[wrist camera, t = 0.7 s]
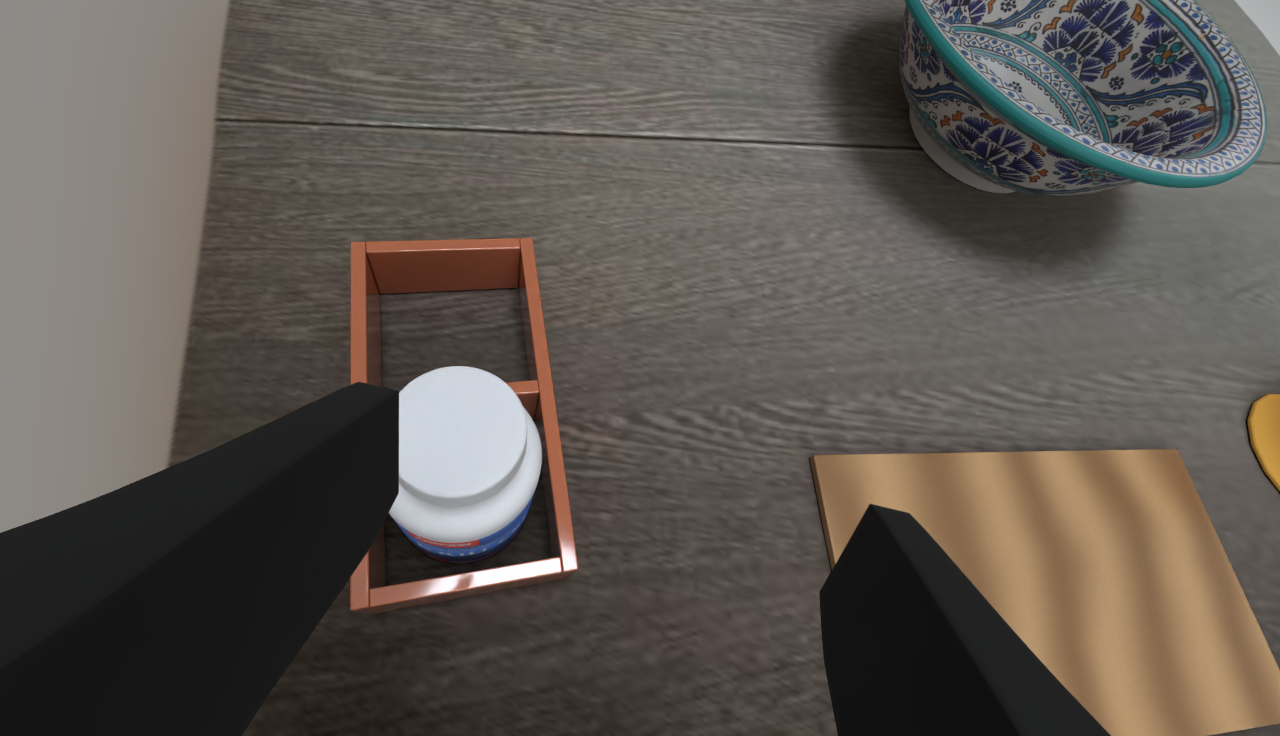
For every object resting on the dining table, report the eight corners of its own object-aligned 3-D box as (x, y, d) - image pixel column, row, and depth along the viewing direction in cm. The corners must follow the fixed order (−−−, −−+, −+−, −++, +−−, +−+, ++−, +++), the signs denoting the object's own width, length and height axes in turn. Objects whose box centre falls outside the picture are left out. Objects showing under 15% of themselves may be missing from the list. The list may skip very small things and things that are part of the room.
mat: (874, 788, 24) (881, 790, 24) (808, 457, 30) (813, 454, 29) (1290, 718, 30) (1303, 720, 29) (1169, 450, 35) (1177, 448, 35)
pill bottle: (416, 585, 23) (368, 555, 15) (387, 460, 25) (330, 368, 16) (547, 539, 25) (573, 488, 17) (512, 425, 27) (519, 326, 18)
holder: (568, 577, 25) (579, 569, 22) (369, 614, 23) (349, 610, 20) (528, 278, 30) (532, 237, 27) (366, 284, 28) (350, 241, 25)
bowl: (988, 337, 36) (1141, 244, 27) (752, 59, 42) (817, -87, 33) (1174, 209, 46) (1329, 112, 37) (961, 0, 52) (1052, -125, 43)
